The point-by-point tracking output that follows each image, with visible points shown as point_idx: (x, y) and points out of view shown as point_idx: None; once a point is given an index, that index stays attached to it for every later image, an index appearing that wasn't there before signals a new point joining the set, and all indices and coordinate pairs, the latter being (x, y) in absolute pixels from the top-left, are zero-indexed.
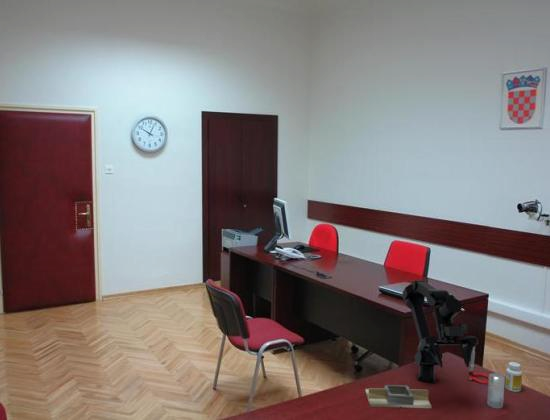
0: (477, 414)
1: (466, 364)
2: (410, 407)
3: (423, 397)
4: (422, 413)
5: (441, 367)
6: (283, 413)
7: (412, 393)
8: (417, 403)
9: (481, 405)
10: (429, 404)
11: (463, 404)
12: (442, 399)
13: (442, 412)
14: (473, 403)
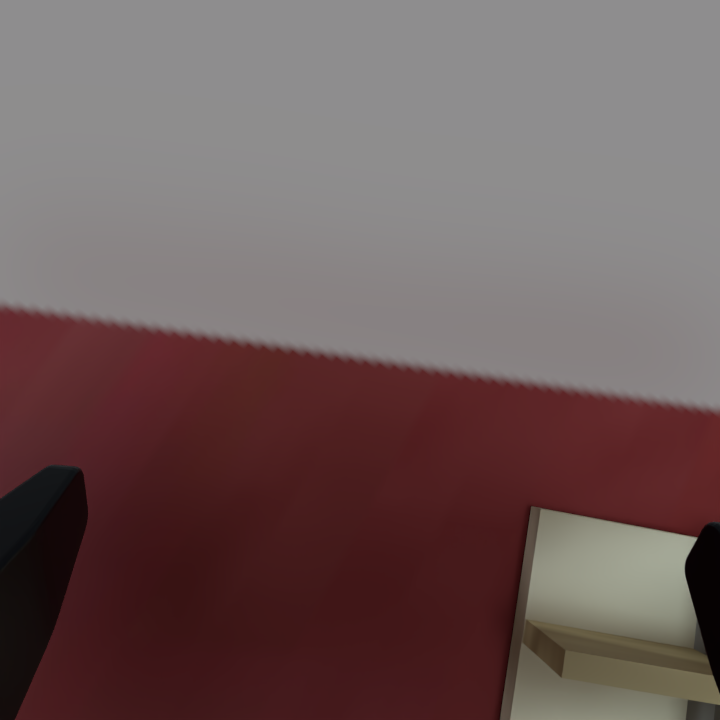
0: (162, 346)
1: (62, 547)
2: None
3: (583, 633)
4: (645, 432)
5: (708, 545)
6: None
7: None
8: (655, 565)
9: None
10: (550, 531)
11: (186, 538)
12: (343, 662)
13: (463, 424)
14: None
